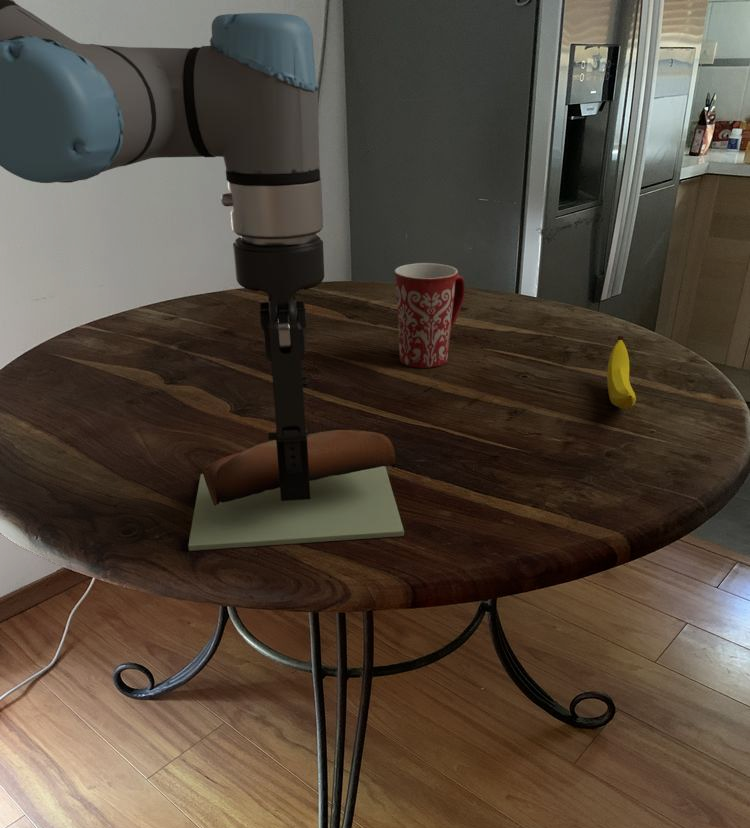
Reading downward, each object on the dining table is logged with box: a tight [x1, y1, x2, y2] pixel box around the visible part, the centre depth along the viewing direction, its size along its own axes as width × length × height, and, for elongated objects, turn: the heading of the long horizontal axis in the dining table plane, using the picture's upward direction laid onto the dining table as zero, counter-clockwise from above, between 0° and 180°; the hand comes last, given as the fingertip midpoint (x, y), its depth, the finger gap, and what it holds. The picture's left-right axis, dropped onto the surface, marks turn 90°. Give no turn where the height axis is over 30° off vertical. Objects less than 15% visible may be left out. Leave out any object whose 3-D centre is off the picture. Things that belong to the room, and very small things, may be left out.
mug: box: [393, 262, 466, 369], centre depth 109 cm, size 13×9×14 cm
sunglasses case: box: [202, 429, 397, 506], centre depth 72 cm, size 18×7×7 cm, turn 114°
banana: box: [606, 335, 637, 410], centre depth 95 cm, size 3×19×6 cm, turn 168°
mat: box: [187, 466, 405, 552], centre depth 74 cm, size 20×14×1 cm
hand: (294, 472), depth 73 cm, fingers closed on sunglasses case, 9 cm apart
